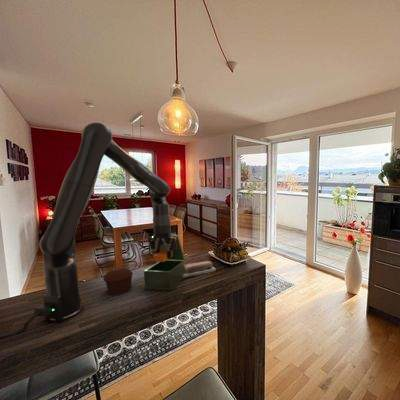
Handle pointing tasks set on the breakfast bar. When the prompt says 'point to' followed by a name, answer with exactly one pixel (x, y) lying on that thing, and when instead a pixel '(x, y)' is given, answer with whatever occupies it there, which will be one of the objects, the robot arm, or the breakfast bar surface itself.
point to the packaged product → (198, 268)
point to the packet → (161, 256)
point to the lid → (177, 251)
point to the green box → (164, 274)
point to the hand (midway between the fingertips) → (163, 257)
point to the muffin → (118, 280)
